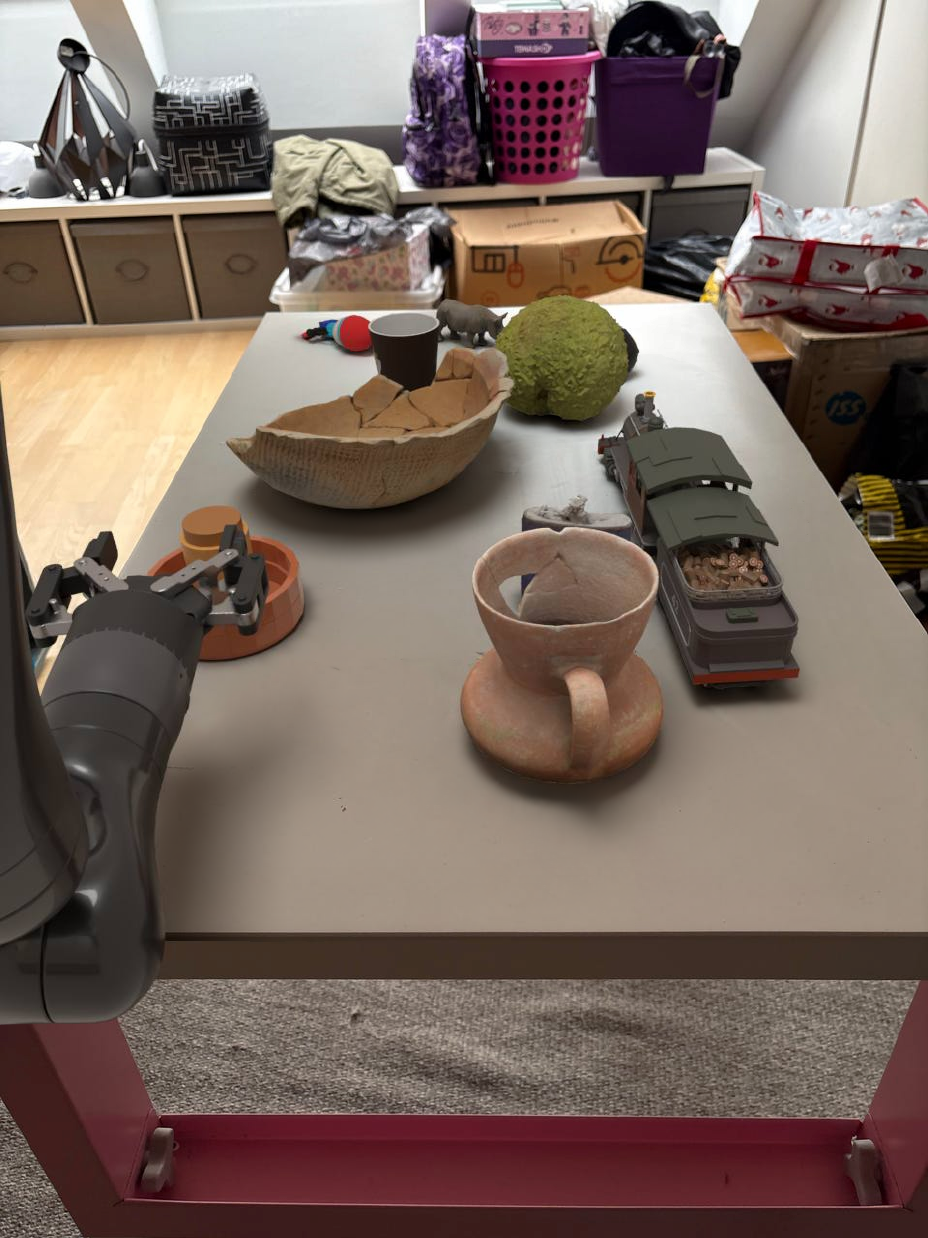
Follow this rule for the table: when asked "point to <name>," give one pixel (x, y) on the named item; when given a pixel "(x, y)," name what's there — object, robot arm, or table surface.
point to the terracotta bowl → (278, 609)
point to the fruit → (564, 358)
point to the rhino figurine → (468, 321)
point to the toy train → (704, 549)
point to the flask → (573, 523)
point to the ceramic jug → (564, 657)
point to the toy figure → (345, 332)
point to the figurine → (630, 349)
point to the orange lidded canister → (209, 533)
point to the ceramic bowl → (383, 436)
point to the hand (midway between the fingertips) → (171, 538)
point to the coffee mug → (406, 348)
